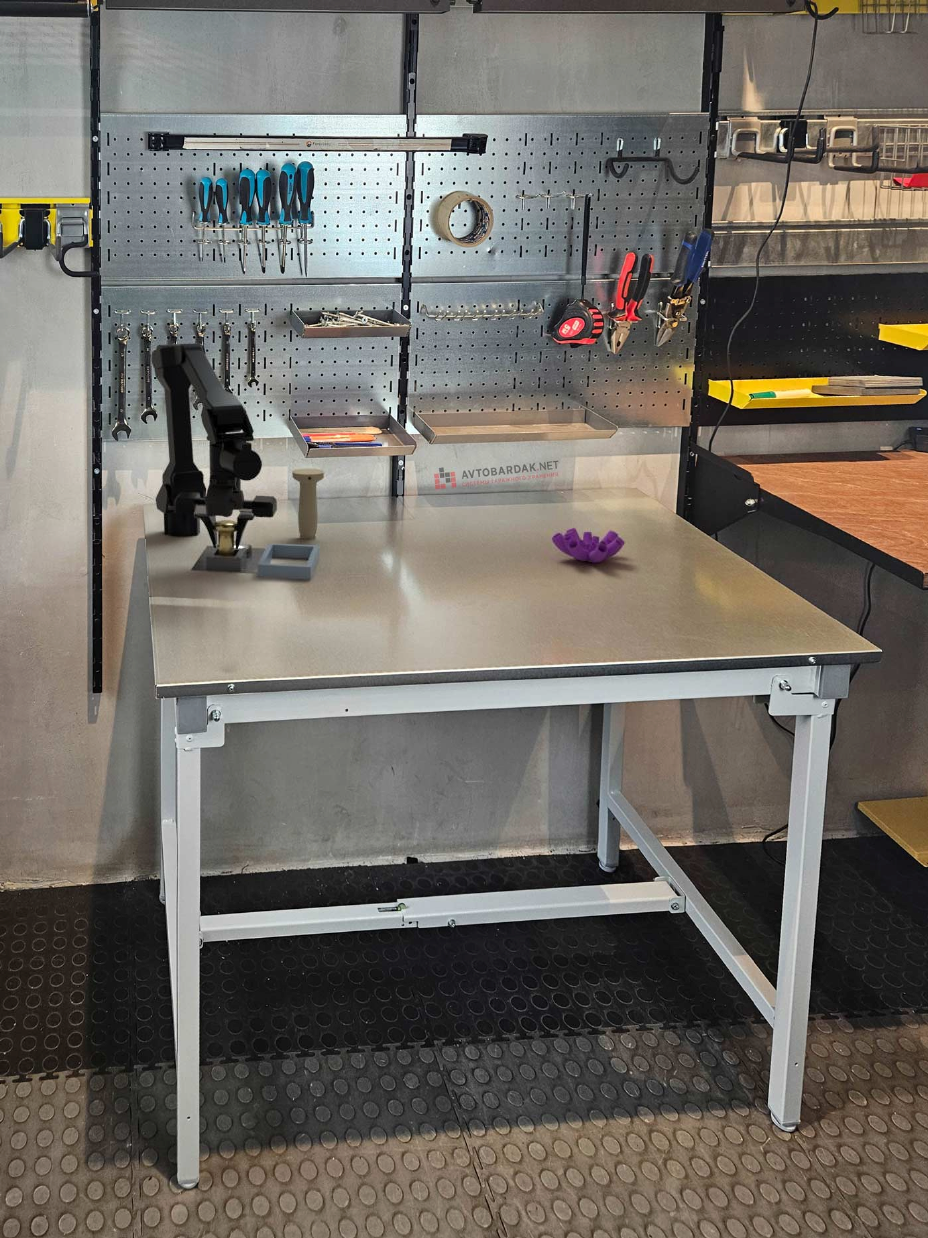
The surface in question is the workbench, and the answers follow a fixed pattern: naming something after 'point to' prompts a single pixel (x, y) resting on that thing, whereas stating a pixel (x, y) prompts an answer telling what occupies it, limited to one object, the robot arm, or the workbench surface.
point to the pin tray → (287, 569)
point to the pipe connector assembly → (588, 545)
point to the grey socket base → (230, 559)
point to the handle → (308, 500)
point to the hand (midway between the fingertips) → (226, 547)
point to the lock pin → (225, 536)
